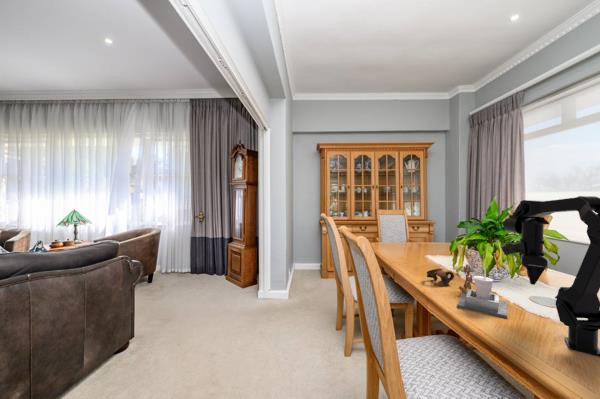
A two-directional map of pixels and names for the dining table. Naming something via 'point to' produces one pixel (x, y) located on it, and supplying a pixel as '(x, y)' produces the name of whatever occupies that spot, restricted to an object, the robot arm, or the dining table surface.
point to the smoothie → (483, 286)
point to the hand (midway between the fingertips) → (531, 280)
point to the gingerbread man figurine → (467, 279)
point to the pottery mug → (441, 276)
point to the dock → (483, 304)
